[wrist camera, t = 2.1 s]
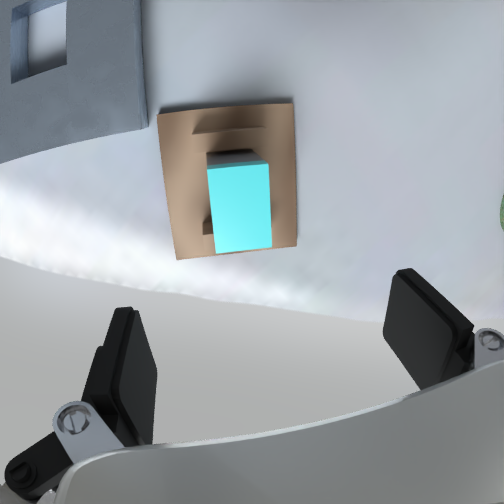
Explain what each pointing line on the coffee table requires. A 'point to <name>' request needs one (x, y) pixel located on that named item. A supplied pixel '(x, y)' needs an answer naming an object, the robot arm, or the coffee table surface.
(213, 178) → the plug
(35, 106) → the port
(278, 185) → the brown holder base
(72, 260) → the coffee table surface
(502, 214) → the decorative artifact
